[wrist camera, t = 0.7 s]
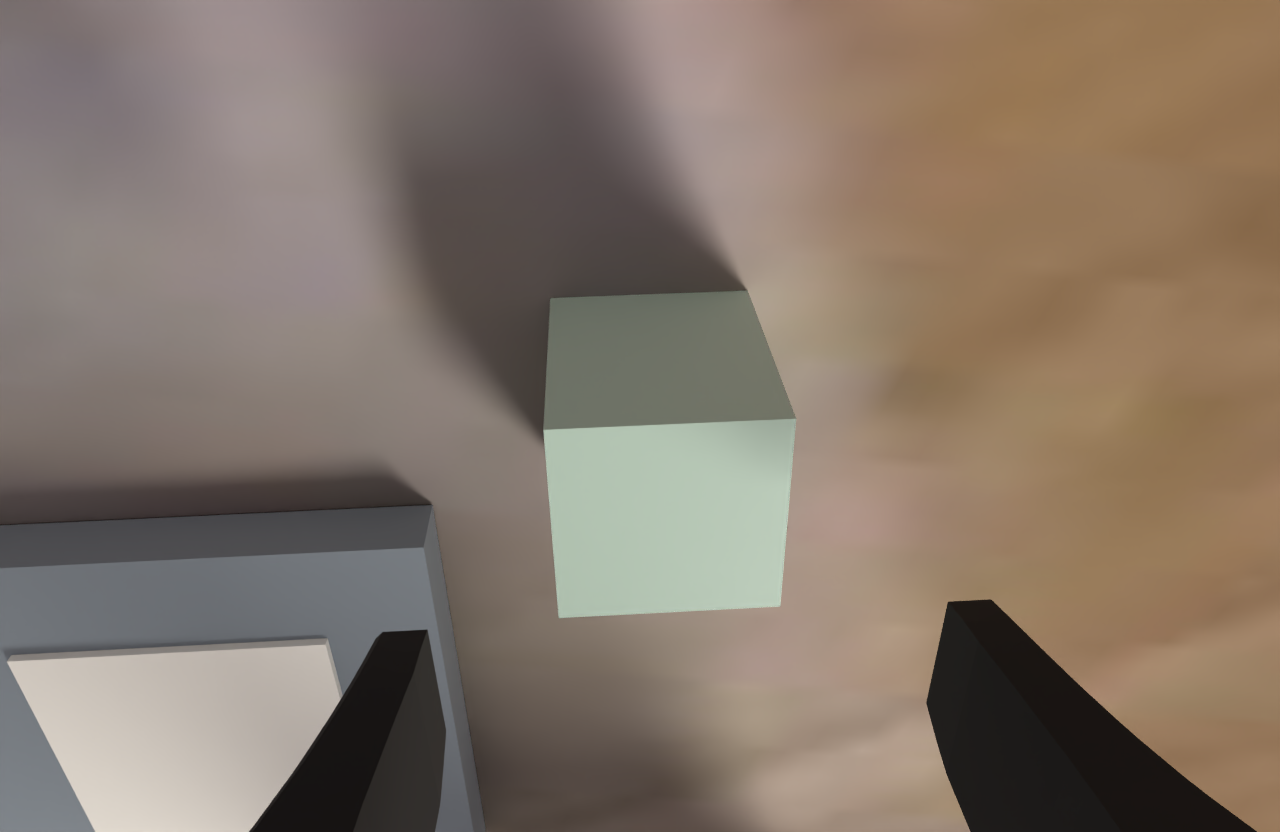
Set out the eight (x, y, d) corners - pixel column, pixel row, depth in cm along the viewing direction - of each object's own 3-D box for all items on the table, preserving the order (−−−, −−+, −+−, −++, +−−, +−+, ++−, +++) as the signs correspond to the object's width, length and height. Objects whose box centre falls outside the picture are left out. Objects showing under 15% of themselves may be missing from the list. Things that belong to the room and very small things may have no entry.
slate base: (485, 830, 28) (481, 884, 26) (69, 855, 27) (41, 912, 26) (432, 505, 21) (422, 553, 20) (-112, 530, 21) (-162, 582, 20)
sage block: (739, 452, 21) (780, 606, 17) (561, 460, 21) (558, 618, 17) (747, 289, 19) (796, 418, 15) (550, 297, 19) (543, 430, 15)
